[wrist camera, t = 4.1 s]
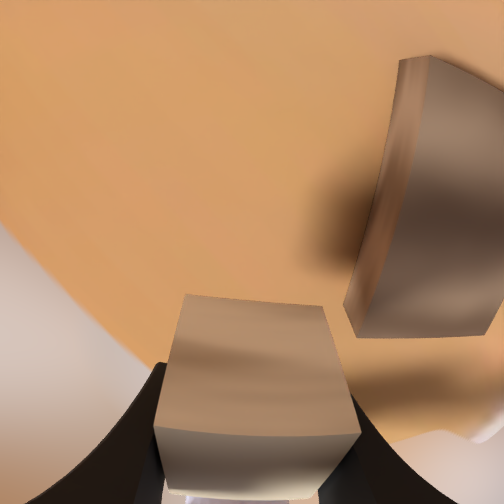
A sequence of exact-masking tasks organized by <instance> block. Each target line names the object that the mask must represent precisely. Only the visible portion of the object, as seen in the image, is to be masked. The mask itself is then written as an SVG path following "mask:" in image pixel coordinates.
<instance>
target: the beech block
mask: <svg viewBox="0 0 504 504" xmlns="http://www.w3.org/2000/svg"><path fill="white" fill-rule="evenodd" d="M153 426H154V431H155V436H156V440H157V445H158V449H159V454H160V458H161V462H162V466H163V470H164V474H165V478H166V482H167V485H168V489H169V492H170V494H177V495H185V496H193V497H203V498H215V499H230V500H293V499H294V500H295V499H309V498H311V496H312V495H313V494H314V493H315V492H316V491H317V490H318V489H319V487H320V486H321V485H322V484H323V483H324V481H325V480H326V479H327V478H328V477H329V475H330V474H331V473H332V472H333V470H334V469H335V468H336V467H337V465H338V464H339V463H340V461H341V460H342V459H343V458H344V456H345V455H346V454H347V452H348V451H349V450H350V448H351V447H352V445H353V444H354V443H355V441H356V440H357V439H358V437H359V436H360V434H361V433H362V432H361V429H360V425H359V422H358V419H357V415H356V412H355V408H354V405H353V402H352V398H351V395H350V392H349V388H348V385H347V382H346V378H345V375H344V372H343V369H342V366H341V362H340V359H339V356H338V353H337V350H336V347H335V344H334V341H333V337H332V334H331V331H330V328H329V325H328V322H327V319H326V316H325V313H324V310H323V307H322V306H312V305H298V304H285V303H272V302H260V301H249V300H238V299H228V298H218V297H208V296H198V295H189V294H185V297H184V301H183V305H182V308H181V312H180V316H179V320H178V324H177V328H176V331H175V335H174V339H173V343H172V347H171V351H170V355H169V359H168V363H167V368H166V372H165V376H164V380H163V384H162V389H161V393H160V397H159V402H158V406H157V411H156V415H155V420H154V425H153Z"/></svg>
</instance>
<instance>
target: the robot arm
mask: <svg viewBox="0 0 504 504" xmlns="http://www.w3.org/2000/svg"><path fill="white" fill-rule="evenodd" d="M166 368H167V363H163V362H158V363H157V364H156V365H155V367H154V369H153V371H152V372H151V374H150V376H149V378H148V379H147V381H146V383H145V384H144V386H143V387H142V389H141V391H140V392H139V394H138V395H137V396H136V398H135V399H134V401H133V402H132V403H131V405H130V406H129V408H128V409H127V411H126V412H125V413H124V415H123V416H122V417H121V419H120V420H119V421H118V422H117V424H116V425H115V426H114V427H113V428H112V430H111V431H110V432H109V433H108V434H107V436H106V437H105V438H104V439H103V440H102V441H101V442H100V444H98V446H97V447H96V448H95V449H94V450H93V451H92V452H91V453H90V454H89V455H88V456H87V457H86V458H85V459H84V460H83V461H82V462H81V463H79V464H78V465H77V466H76V467H75V468H74V469H73V470H72V471H70V472H69V473H68V474H67V475H66V476H64V477H63V478H62V479H60V480H59V481H58V482H56V483H55V484H54V485H52V486H51V487H50V488H49V489H47V490H46V491H44V492H43V493H41V494H40V495H39V496H37V497H35V498H34V499H32V500H30V501H28V502H27V503H25V504H161V500H162V491H163V486H164V480H165V474H164V470H163V466H162V462H161V458H160V454H159V449H158V445H157V440H156V436H155V431H154V426H153V425H154V420H155V415H156V411H157V406H158V402H159V397H160V393H161V389H162V384H163V380H164V376H165V372H166ZM349 392H350V391H349ZM350 395H351V398H352V402H353V405H354V408H355V412H356V415H357V419H358V422H359V425H360V429H361V432H362V433H361V434H360V436H359V437H358V439H357V440H356V441H355V443H354V444H353V445H352V447H351V448H350V450H349V451H348V452H347V454H346V455H345V456H344V458H343V459H342V460H341V461H340V463H339V464H338V465H337V467H336V468H335V469H334V470H333V472H332V473H331V474H330V475H329V477H328V478H327V479H326V480H325V481H324V483H323V484H322V485H321V486H320V487H319V489H318V496H319V504H457V503H456V502H454V501H453V500H451V499H450V498H448V497H447V496H445V495H444V494H442V493H441V492H439V491H438V490H437V489H436V488H434V487H433V486H432V485H430V484H429V483H428V482H427V481H426V480H424V479H423V478H422V477H421V476H419V475H418V474H417V473H416V472H415V471H414V470H413V469H412V468H411V467H410V466H409V465H408V464H407V463H405V461H403V460H402V458H401V457H400V456H399V455H398V454H397V453H396V452H395V451H394V450H393V449H392V448H391V446H390V445H389V444H388V443H387V442H386V440H385V439H384V438H383V437H382V436H381V434H380V433H379V432H378V431H377V429H376V428H375V427H374V425H373V424H372V423H371V421H370V420H369V419H368V417H367V416H366V415H365V413H364V412H363V410H362V409H361V407H360V406H359V405H358V403H357V402H356V400H355V399H354V397H353V396H352V394H351V393H350ZM185 504H289V500H230V499H215V498H203V497H193V496H186V502H185Z"/></svg>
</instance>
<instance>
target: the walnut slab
mask: <svg viewBox="0 0 504 504" xmlns="http://www.w3.org/2000/svg"><path fill="white" fill-rule="evenodd" d="M503 299H504V92H502V91H500V90H499V89H497V88H495V87H493V86H492V85H490V84H488V83H486V82H484V81H483V80H481V79H479V78H477V77H475V76H473V75H471V74H469V73H467V72H465V71H463V70H461V69H459V68H457V67H455V66H453V65H451V64H449V63H446V62H444V61H442V60H440V59H437V58H435V57H433V56H424V57H417V58H410V59H404V60H400V61H399V68H398V76H397V83H396V90H395V96H394V102H393V108H392V114H391V120H390V125H389V131H388V136H387V141H386V146H385V151H384V156H383V161H382V165H381V170H380V174H379V179H378V183H377V187H376V191H375V196H374V200H373V204H372V208H371V212H370V215H369V219H368V223H367V227H366V231H365V234H364V238H363V241H362V245H361V249H360V252H359V255H358V259H357V262H356V266H355V269H354V272H353V275H352V279H351V282H350V285H349V288H348V291H347V294H346V298H345V301H344V304H343V306H344V308H345V311H346V313H347V316H348V318H349V320H350V323H351V325H352V328H353V330H354V333H355V335H356V338H440V337H463V336H480V335H485V333H486V331H487V330H488V328H489V326H490V324H491V322H492V321H493V319H494V317H495V315H496V313H497V311H498V309H499V307H500V305H501V303H502V301H503Z"/></svg>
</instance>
